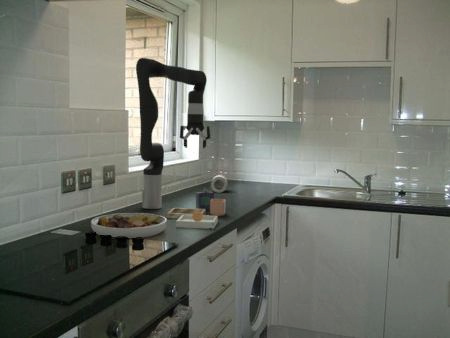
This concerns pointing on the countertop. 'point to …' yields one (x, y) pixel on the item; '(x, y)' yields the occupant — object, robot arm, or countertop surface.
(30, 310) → the countertop surface
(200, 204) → the flask
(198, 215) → the ball
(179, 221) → the tray
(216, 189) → the toilet paper
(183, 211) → the corral
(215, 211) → the cup
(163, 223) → the bowl
